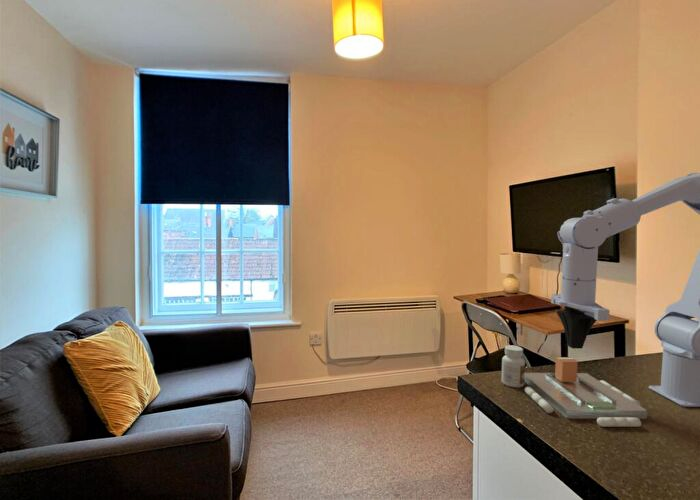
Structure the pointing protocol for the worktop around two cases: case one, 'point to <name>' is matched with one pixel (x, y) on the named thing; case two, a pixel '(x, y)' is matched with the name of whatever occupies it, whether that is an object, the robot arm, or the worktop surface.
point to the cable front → (539, 400)
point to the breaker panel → (583, 397)
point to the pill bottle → (513, 366)
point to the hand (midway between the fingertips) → (575, 347)
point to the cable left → (618, 422)
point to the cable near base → (621, 392)
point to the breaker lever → (566, 369)
